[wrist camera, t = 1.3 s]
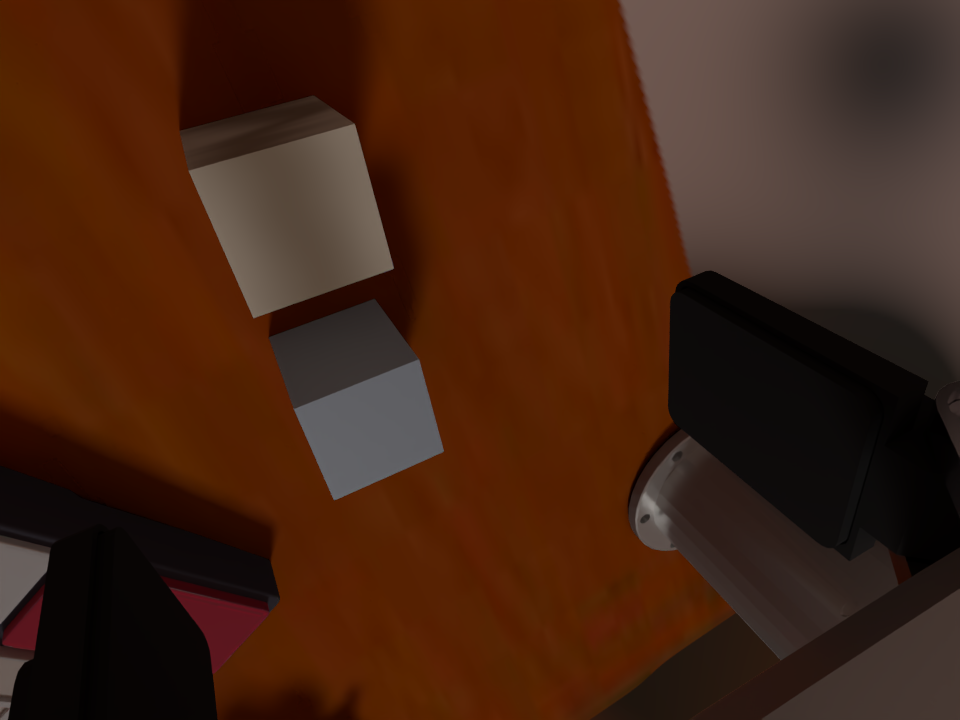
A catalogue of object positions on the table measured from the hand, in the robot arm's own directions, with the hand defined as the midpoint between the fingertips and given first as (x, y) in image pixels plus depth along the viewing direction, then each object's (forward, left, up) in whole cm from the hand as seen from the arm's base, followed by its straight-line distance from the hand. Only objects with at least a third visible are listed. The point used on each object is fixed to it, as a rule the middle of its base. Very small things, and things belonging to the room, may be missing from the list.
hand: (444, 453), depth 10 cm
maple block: (0, 0, -18) cm, 18 cm away
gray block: (0, +9, -18) cm, 20 cm away
